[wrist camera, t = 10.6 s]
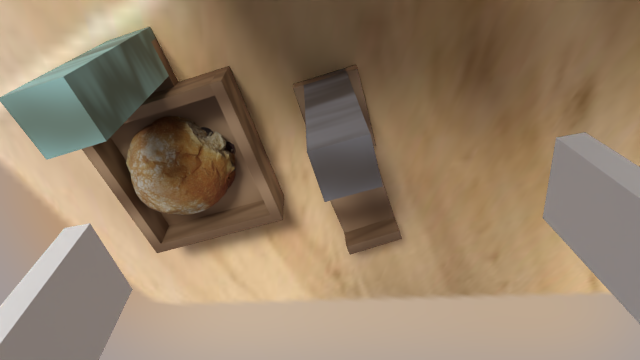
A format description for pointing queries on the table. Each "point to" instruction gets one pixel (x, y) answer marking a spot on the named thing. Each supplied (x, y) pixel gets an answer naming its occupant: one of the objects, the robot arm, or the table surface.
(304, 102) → the grey tall block
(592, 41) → the table surface
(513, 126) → the table surface
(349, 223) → the strip
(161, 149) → the bread roll
